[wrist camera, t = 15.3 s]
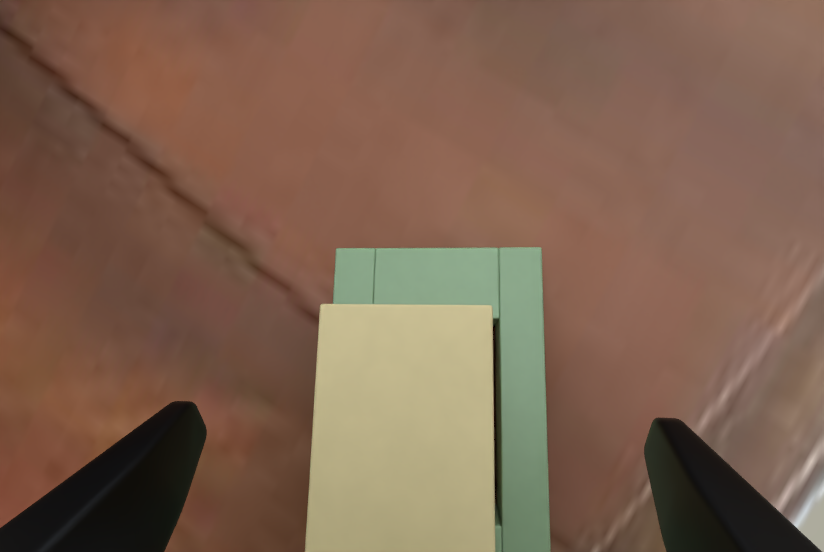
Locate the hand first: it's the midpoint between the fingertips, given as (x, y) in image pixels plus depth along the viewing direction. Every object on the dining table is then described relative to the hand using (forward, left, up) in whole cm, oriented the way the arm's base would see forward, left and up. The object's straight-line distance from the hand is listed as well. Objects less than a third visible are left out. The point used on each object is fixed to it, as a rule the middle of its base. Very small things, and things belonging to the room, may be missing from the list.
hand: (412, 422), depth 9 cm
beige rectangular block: (0, 0, -8) cm, 8 cm away
